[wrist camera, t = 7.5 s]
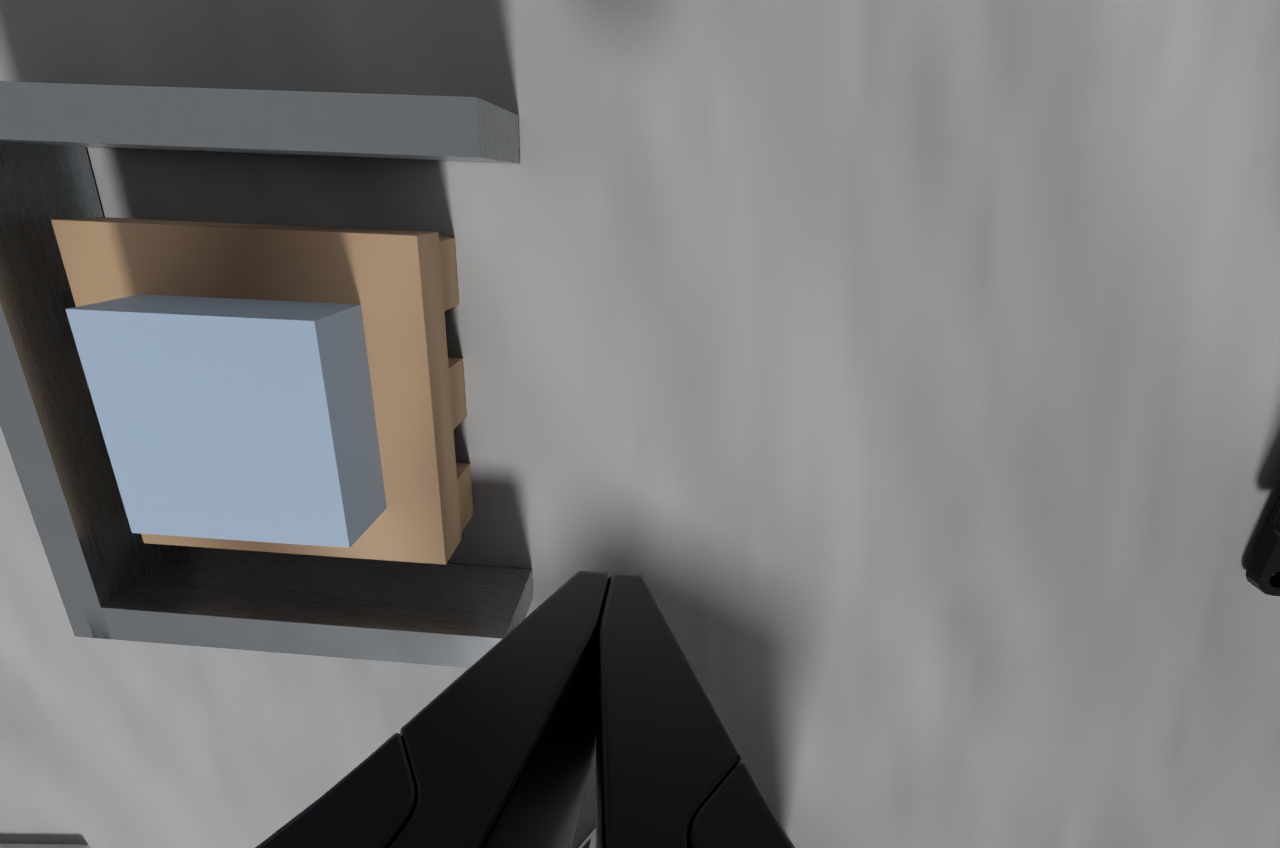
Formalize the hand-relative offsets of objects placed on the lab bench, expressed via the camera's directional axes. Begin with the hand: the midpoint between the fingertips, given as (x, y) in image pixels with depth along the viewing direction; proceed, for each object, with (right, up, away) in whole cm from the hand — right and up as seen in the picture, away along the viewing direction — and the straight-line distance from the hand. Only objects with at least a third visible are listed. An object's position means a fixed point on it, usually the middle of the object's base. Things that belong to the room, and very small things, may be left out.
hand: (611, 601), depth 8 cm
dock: (-9, +4, +8) cm, 12 cm away
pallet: (-8, +4, +9) cm, 12 cm away
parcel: (-8, +3, +6) cm, 11 cm away
